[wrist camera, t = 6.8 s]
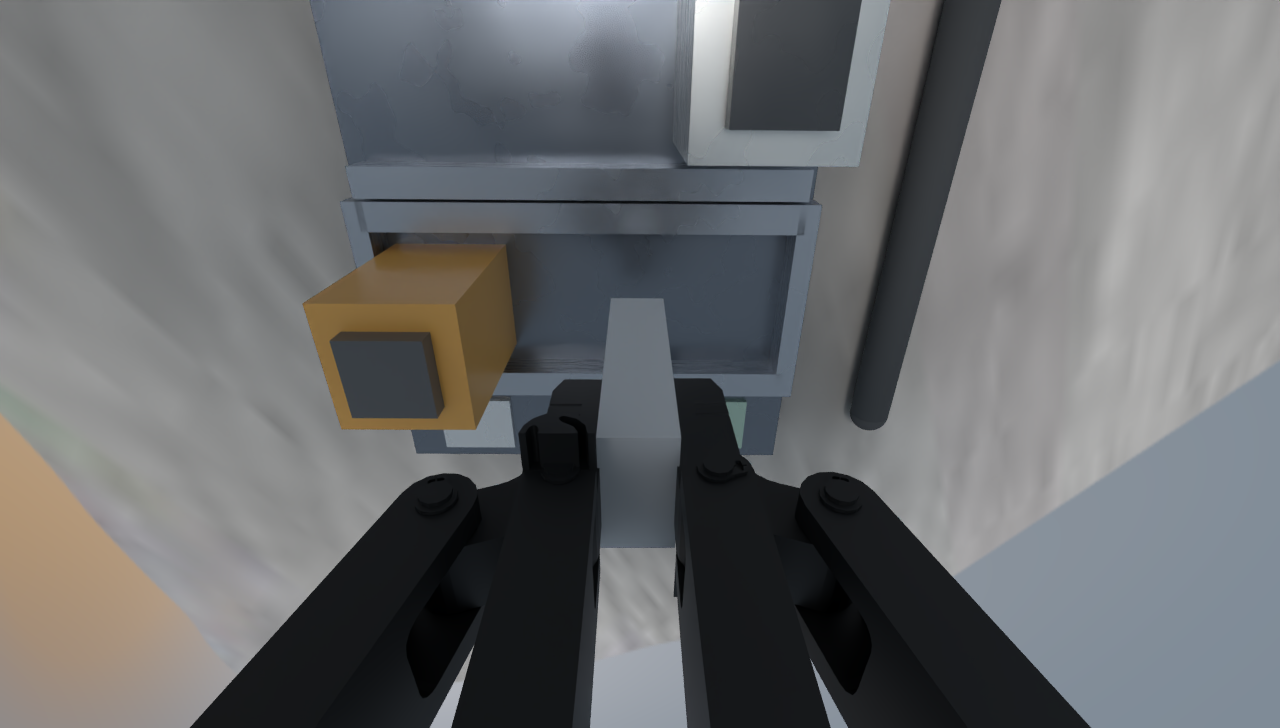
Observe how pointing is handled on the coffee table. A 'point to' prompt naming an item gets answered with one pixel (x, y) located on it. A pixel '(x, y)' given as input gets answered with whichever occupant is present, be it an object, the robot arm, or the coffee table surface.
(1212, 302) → the coffee table surface
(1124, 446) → the coffee table surface
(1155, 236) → the coffee table surface
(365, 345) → the block
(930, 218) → the rod
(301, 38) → the coffee table surface
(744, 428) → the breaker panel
